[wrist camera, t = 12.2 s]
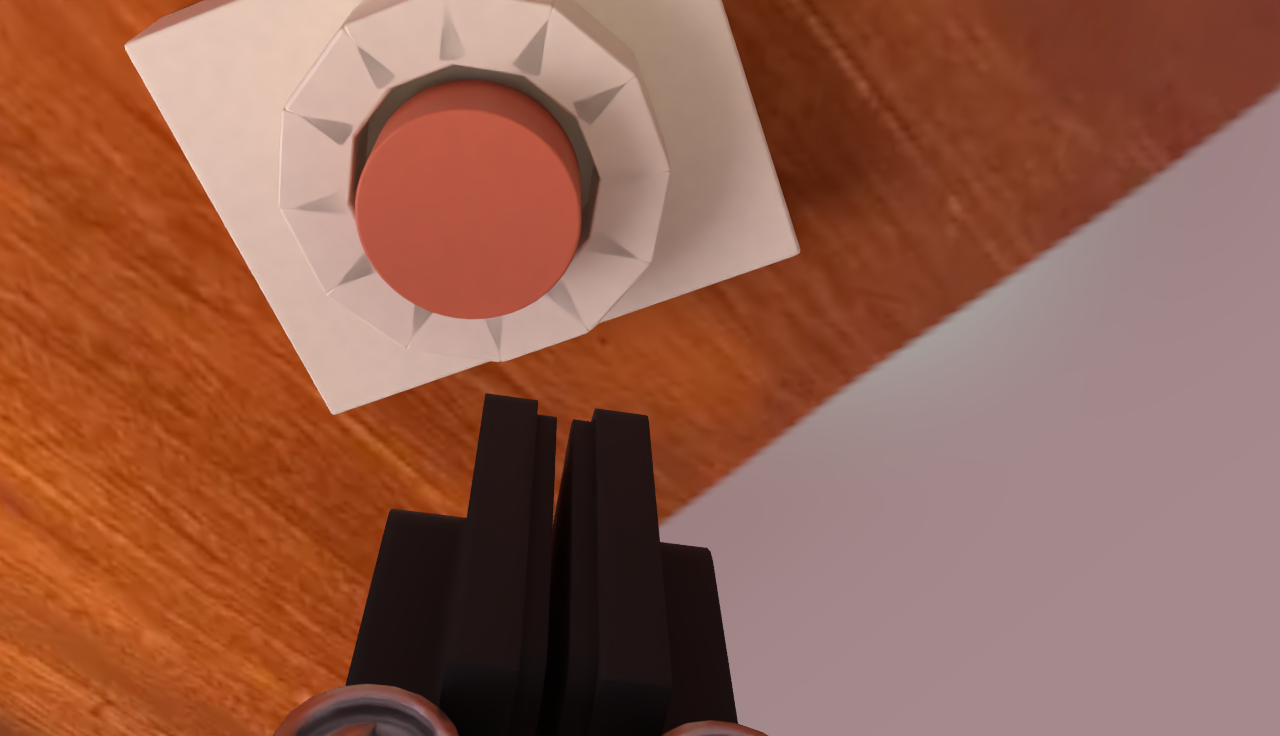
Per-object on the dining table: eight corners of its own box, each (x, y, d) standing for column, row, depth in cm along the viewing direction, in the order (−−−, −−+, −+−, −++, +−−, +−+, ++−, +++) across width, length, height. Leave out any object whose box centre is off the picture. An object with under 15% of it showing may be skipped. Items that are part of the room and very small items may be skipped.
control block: (659, -180, 21) (677, -162, 18) (784, 213, 25) (819, 294, 22) (158, 17, 22) (83, 72, 19) (349, 366, 26) (315, 466, 23)
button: (533, 47, 20) (530, 75, 18) (610, 238, 21) (613, 278, 20) (333, 122, 20) (314, 156, 18) (424, 304, 22) (413, 348, 20)
